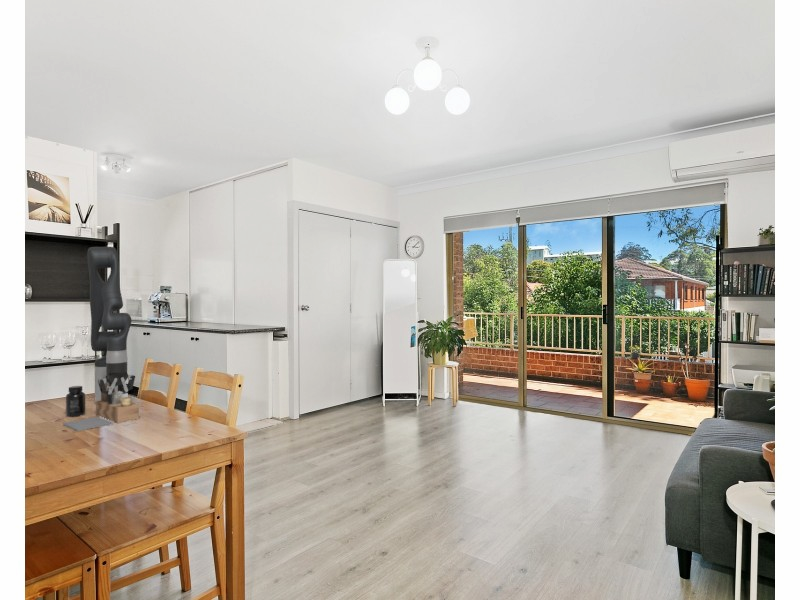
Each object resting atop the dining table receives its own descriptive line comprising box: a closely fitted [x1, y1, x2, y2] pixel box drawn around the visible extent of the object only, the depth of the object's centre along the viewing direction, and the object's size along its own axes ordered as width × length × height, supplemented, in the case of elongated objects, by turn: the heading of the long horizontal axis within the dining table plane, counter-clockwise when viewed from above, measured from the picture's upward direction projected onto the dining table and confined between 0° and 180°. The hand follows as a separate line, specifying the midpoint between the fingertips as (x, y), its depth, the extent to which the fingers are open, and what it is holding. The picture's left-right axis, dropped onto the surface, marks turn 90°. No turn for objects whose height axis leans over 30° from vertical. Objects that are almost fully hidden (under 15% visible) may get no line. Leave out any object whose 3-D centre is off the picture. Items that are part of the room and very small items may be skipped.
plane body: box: [95, 383, 140, 424], centre depth 198 cm, size 20×8×13 cm, turn 54°
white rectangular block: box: [106, 390, 129, 405], centre depth 198 cm, size 8×5×4 cm, turn 54°
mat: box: [62, 416, 114, 432], centre depth 186 cm, size 14×12×1 cm
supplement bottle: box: [65, 385, 86, 418], centre depth 201 cm, size 7×7×12 cm
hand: (117, 401), depth 198 cm, fingers closed on white rectangular block, 5 cm apart
